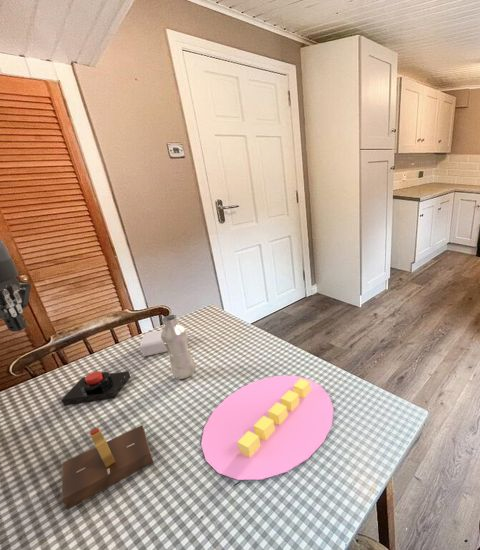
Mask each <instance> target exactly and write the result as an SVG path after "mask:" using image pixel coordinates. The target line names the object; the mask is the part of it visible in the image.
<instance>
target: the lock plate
mask: <svg viewBox="0 0 480 550" xmlns="http://www.w3.org/2000/svg"><path fill="white" fill-rule="evenodd" d="M106 442H107V444H108V447H109V449H110V451H111V453H112V455H113V458H114V460H115V463H113V464H111V465H110V466H108V467H105V465H104V463H103V461H102V459H101V457H100V455H99V453H98V451H97V449H96V446H94V447H93V448H91V449H87V450H86V451H84V452H82V453H79V454H78V455H75V456H73V457H71V458H69V459H67V460H65V461H62V474H61V475H62V478H61V479H62V483H61V501H62V502H63V504H64V505H65V507H66V509H67V510H69V509H72V508H73V507H75V506H77V505H78V504H80V503H81V504H82V503H83V502H84V501H86V500H89V498H92V497H94V496H95V495H97V494H100V493H101V492H102V491H104V490H107V489H108V488H110V487H112V486H113V485H116V484H117V483H120V482H121V481H123V480H124V479H126V478H129V477H130V476H132V475H133V474H135V473H138V472H139V471H141V470H143V469H144V468H146V467H148V466H150V465H152V464H153V463H154V462H155V461H154V458H153V454H152V450H151V447H150V444H149V439H148V437H147V432H146V430H145V428H144V425H143V424H141V425H139V426H137V427H135V428H133V429H131V430H129V431H126V432H124V433H123V434H122V433H121V434H120V435H118V436H116V437H114V438H112V439H109V440H106Z"/></svg>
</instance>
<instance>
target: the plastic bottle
mask: <svg viewBox="0 0 480 550" xmlns="http://www.w3.org/2000/svg"><path fill="white" fill-rule="evenodd" d="M161 321H162V326H163V329H162V330H163V331H162V333H161V339H162V341H163V343H164V345H165V347H166V349H167V354H168V358H169V363H170V372H171V374H172V376H173V377H174V378H176V379H179V380H183V379H187V378H189V377H191V376H192V375H193V374H194V373H195V372H196V367H197V366H196V362H195V360H194V358H193V356H192V354H191V351H190V348H189V343H188V339H187V332H188V331H187V329H186V328H185V327H184V325H182V324H180V323H179V319H178V316H177V315H176V314H169V315H166V316H163V317H162V318H161Z"/></svg>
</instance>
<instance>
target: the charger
mask: <svg viewBox="0 0 480 550" xmlns="http://www.w3.org/2000/svg"><path fill="white" fill-rule="evenodd" d="M162 331H163V329H162V330H156V331H151V332H146V333H145V332H144V333H143V336H142V339H141V342H140V345H139V349H140V352H141V355H142V357H143V358H144V357H148V356H153V355H157V354H162V353H168V351H167V349H166V347H165V345H164V343H163V341H162V339H161V333H162ZM186 332H187V340H188V338H191V337H194V332H188V331H186Z"/></svg>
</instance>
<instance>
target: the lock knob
mask: <svg viewBox="0 0 480 550" xmlns="http://www.w3.org/2000/svg"><path fill="white" fill-rule="evenodd" d="M89 436H90V438H91V440H92V442H93V444H94V447H96V449H97V451H98V453H99V455H100V457H101V459H102V461H103V463H104V465H105V467H108V466H110V465H111V464H113V463H115V460H114V458H113V455H112V453H111V451H110V449H109V447H108V444H107V440H106V439H105V437H104V435H103V433H102V431H101V429H100V428H99V427H96V428H94V429H91V431H89Z"/></svg>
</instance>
